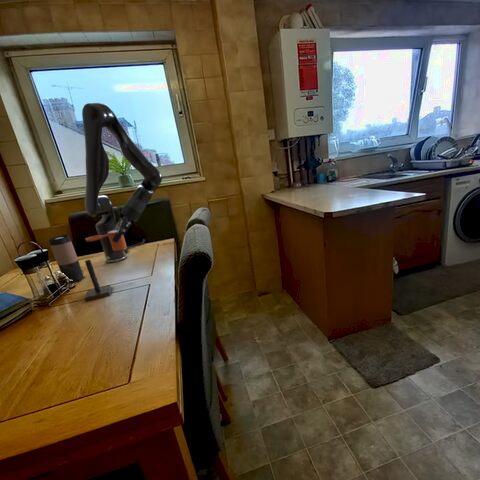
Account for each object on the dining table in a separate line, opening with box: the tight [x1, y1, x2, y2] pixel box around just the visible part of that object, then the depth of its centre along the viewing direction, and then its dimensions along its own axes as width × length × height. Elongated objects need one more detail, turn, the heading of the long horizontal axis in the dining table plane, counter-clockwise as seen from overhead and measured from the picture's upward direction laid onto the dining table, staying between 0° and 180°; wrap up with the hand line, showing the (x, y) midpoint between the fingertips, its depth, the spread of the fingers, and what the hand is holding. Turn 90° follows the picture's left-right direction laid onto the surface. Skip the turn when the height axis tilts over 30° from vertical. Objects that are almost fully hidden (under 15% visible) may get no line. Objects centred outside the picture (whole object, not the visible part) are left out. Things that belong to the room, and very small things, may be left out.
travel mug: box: [48, 234, 85, 284], centre depth 122 cm, size 8×8×20 cm
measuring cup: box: [85, 230, 128, 251], centre depth 121 cm, size 14×6×8 cm, turn 127°
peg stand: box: [84, 259, 113, 302], centre depth 105 cm, size 8×8×14 cm
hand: (113, 240), depth 122 cm, fingers closed on measuring cup, 6 cm apart
